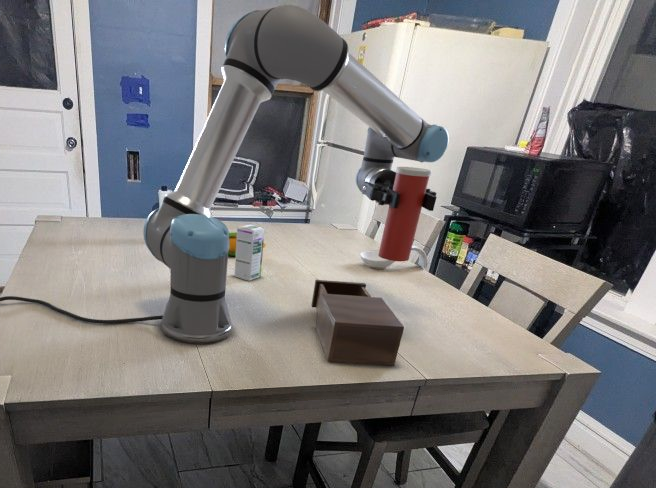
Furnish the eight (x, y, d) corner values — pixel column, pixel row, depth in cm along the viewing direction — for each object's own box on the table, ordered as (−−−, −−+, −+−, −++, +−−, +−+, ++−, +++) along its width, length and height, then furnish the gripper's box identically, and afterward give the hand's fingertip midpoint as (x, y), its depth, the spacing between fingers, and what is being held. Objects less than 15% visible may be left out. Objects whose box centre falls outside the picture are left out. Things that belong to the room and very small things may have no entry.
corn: (206, 228, 160) (263, 229, 165) (204, 251, 164) (260, 251, 169) (211, 235, 154) (270, 236, 159) (209, 258, 158) (267, 258, 163)
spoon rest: (367, 271, 157) (372, 249, 153) (352, 261, 167) (356, 240, 163) (432, 272, 162) (438, 250, 158) (413, 262, 172) (419, 241, 168)
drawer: (308, 299, 126) (312, 274, 123) (355, 302, 127) (361, 277, 124) (320, 330, 109) (325, 301, 106) (374, 333, 110) (381, 305, 106)
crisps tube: (386, 261, 104) (406, 170, 95) (372, 252, 110) (390, 165, 101) (415, 261, 106) (438, 171, 97) (400, 253, 112) (420, 167, 103)
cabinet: (315, 328, 112) (321, 293, 108) (373, 332, 112) (381, 297, 108) (327, 361, 98) (335, 322, 93) (394, 366, 98) (404, 326, 94)
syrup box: (249, 281, 139) (254, 230, 132) (233, 276, 142) (237, 225, 135) (260, 277, 143) (265, 227, 136) (244, 272, 146) (248, 223, 139)
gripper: (419, 205, 120) (457, 225, 100) (341, 199, 119) (363, 218, 99) (427, 172, 116) (468, 186, 96) (346, 166, 115) (371, 179, 95)
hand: (415, 202), depth 97 cm, fingers closed on crisps tube, 7 cm apart
